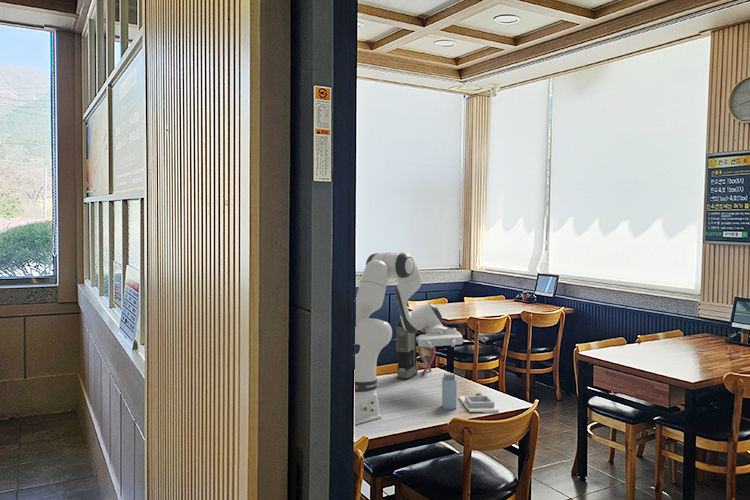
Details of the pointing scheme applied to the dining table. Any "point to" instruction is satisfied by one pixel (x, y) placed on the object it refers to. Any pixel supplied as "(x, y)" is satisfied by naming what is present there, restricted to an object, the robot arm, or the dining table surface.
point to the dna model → (426, 357)
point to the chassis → (479, 403)
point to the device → (405, 352)
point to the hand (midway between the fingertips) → (442, 345)
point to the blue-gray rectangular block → (449, 391)
